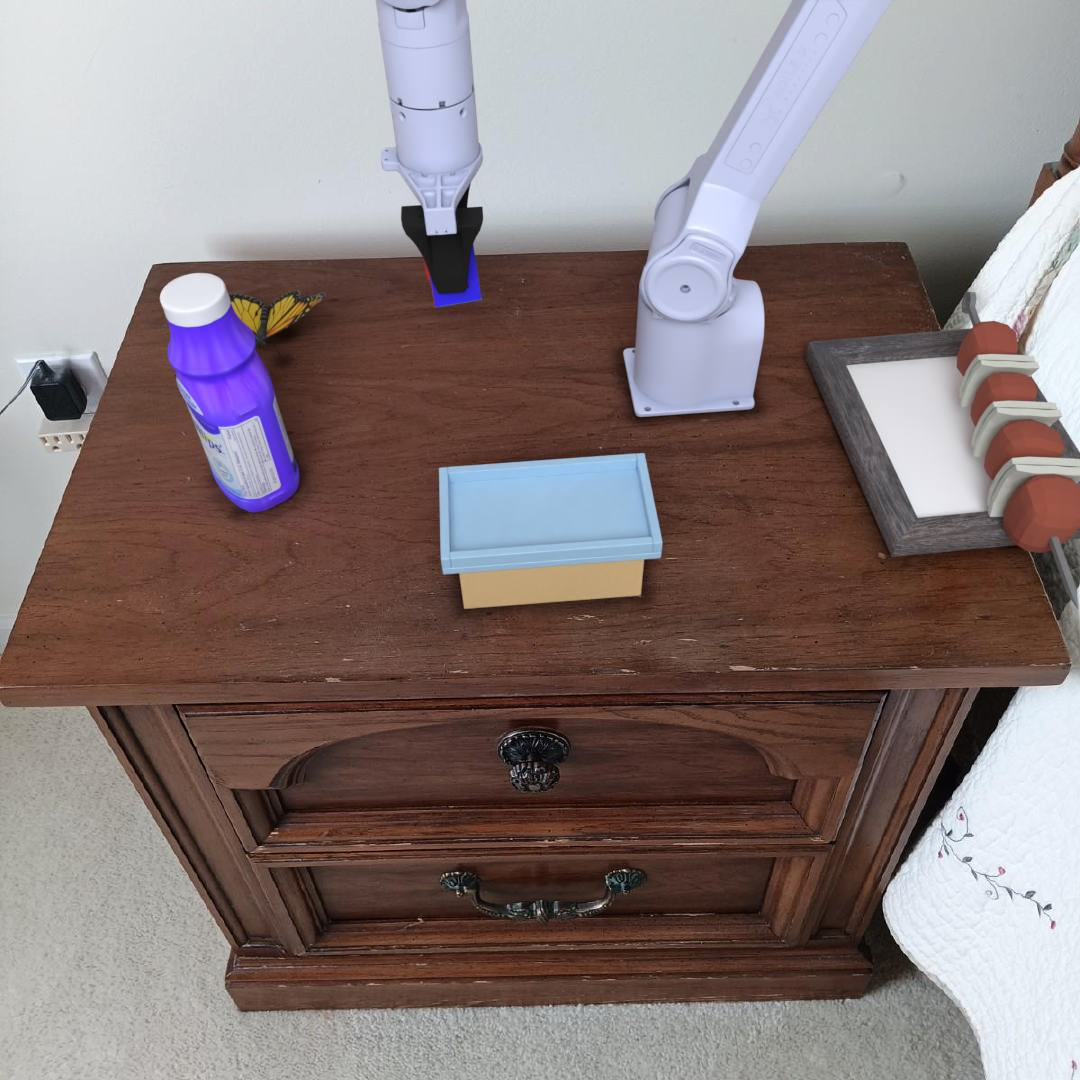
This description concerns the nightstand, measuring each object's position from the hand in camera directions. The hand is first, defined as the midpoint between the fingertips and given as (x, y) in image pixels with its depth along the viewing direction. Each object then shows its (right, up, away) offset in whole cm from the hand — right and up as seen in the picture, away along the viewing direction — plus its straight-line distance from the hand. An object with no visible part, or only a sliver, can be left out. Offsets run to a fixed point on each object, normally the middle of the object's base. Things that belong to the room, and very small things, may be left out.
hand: (450, 264), depth 77 cm
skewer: (+41, -2, +3) cm, 41 cm away
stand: (+7, -23, -7) cm, 25 cm away
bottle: (-14, -17, -1) cm, 22 cm away
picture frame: (+36, -5, +5) cm, 37 cm away
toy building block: (0, -1, +1) cm, 2 cm away
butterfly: (-16, -5, +9) cm, 19 cm away
